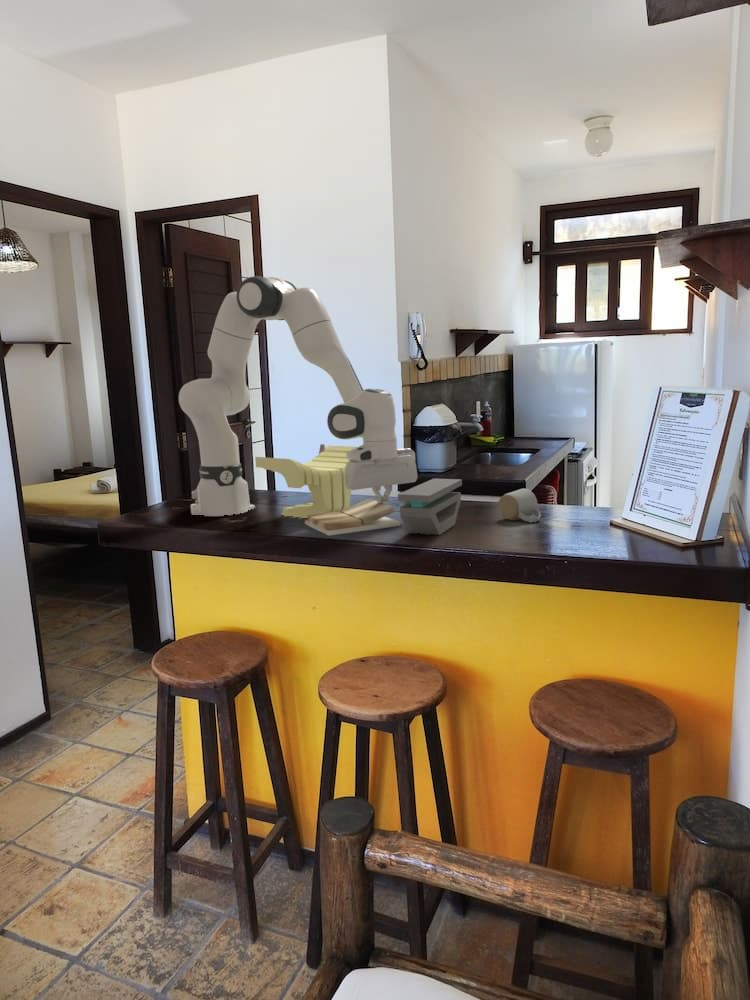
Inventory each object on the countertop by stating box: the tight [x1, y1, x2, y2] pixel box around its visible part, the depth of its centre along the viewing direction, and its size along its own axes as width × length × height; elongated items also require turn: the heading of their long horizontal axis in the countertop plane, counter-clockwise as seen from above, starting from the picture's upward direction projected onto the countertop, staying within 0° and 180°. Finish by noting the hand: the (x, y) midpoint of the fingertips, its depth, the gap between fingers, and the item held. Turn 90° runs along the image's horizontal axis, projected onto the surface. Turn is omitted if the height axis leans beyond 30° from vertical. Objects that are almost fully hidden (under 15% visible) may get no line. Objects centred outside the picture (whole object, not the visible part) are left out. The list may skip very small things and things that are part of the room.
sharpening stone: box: [397, 478, 463, 536], centre depth 178 cm, size 25×8×11 cm, turn 156°
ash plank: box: [341, 498, 396, 525], centre depth 188 cm, size 14×9×2 cm, turn 27°
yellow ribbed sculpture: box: [254, 445, 358, 519], centre depth 200 cm, size 30×16×18 cm, turn 143°
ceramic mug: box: [497, 488, 542, 522], centre depth 186 cm, size 11×8×8 cm
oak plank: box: [307, 512, 361, 531], centre depth 184 cm, size 14×9×2 cm, turn 27°
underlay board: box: [304, 516, 401, 536], centre depth 186 cm, size 16×20×1 cm
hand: (383, 502), depth 189 cm, fingers closed
